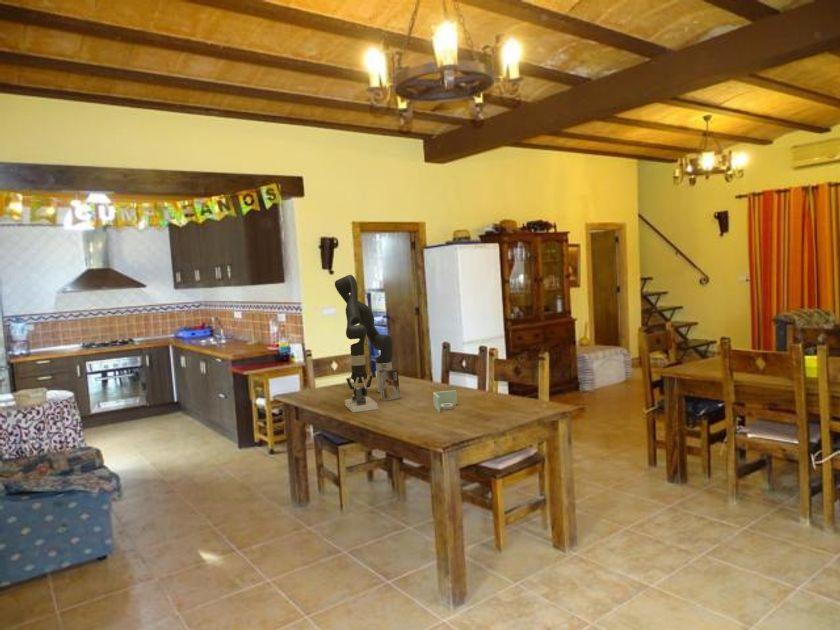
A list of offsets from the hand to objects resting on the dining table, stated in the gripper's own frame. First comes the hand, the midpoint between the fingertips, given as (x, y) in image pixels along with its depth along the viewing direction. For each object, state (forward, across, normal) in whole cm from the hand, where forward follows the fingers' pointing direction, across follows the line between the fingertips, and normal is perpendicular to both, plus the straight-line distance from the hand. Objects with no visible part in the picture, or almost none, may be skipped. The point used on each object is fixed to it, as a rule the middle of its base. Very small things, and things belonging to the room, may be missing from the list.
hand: (360, 396), depth 312 cm
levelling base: (+6, 0, -1) cm, 6 cm away
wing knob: (+3, 0, 0) cm, 3 cm away
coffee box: (+6, -19, -12) cm, 23 cm away
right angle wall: (+7, -39, +24) cm, 46 cm away
